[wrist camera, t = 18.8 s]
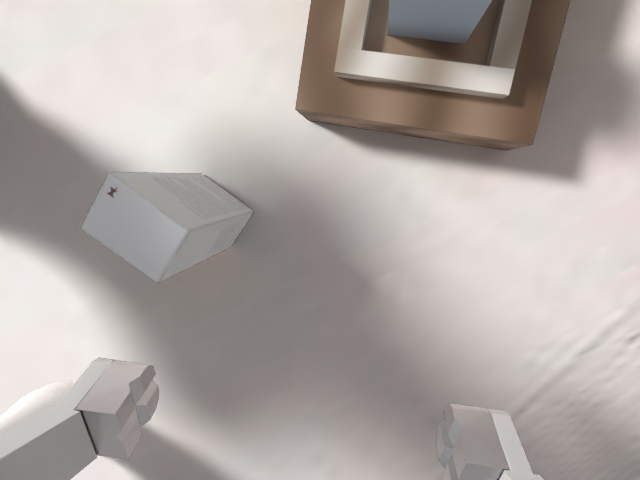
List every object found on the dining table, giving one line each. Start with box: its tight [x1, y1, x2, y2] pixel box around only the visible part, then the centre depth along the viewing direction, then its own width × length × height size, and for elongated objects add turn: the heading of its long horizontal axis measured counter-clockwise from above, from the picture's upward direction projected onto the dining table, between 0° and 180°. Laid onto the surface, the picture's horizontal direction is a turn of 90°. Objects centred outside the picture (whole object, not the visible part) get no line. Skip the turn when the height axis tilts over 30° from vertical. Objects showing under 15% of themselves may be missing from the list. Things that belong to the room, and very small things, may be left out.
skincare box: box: [81, 172, 253, 283], centre depth 28 cm, size 6×4×12 cm
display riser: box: [295, 0, 570, 150], centre depth 26 cm, size 16×16×6 cm
